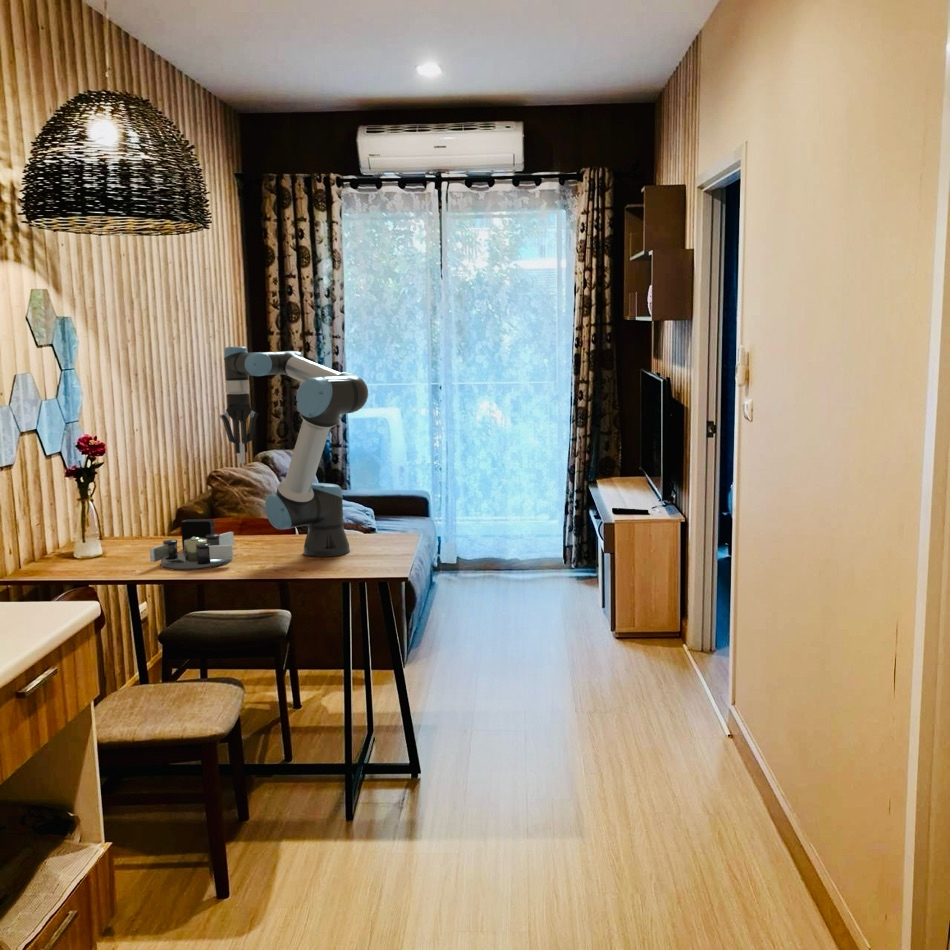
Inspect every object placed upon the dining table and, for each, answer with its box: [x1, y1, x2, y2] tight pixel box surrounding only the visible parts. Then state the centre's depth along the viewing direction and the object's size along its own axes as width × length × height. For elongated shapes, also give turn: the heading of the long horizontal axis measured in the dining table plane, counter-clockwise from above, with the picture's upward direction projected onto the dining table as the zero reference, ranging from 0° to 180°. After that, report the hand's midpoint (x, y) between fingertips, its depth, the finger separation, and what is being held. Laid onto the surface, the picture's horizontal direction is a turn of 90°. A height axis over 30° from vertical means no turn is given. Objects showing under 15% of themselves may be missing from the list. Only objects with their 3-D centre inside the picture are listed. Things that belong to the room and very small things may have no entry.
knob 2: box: [206, 531, 235, 546], centre depth 321 cm, size 11×4×6 cm, turn 153°
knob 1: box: [149, 538, 179, 563], centre depth 307 cm, size 11×4×6 cm, turn 159°
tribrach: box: [160, 537, 233, 571], centre depth 311 cm, size 22×22×8 cm
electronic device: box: [180, 518, 215, 551], centre depth 330 cm, size 4×10×10 cm, turn 89°
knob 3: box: [196, 543, 234, 564], centre depth 305 cm, size 11×4×6 cm, turn 95°
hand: (241, 462), depth 327 cm, fingers closed
